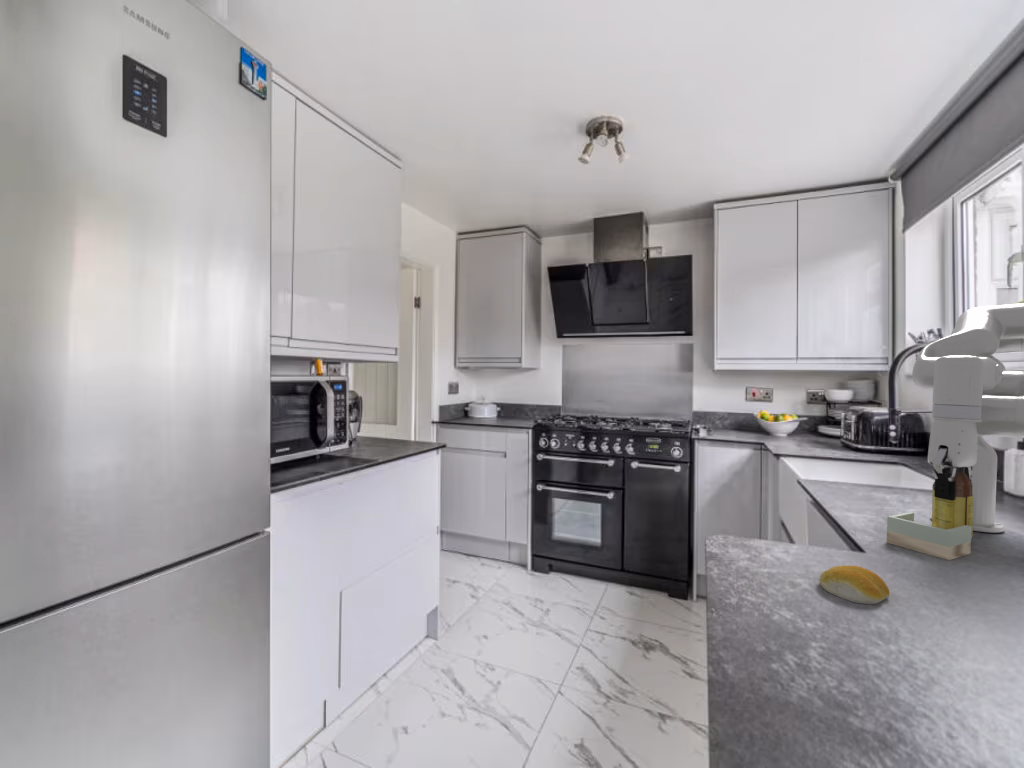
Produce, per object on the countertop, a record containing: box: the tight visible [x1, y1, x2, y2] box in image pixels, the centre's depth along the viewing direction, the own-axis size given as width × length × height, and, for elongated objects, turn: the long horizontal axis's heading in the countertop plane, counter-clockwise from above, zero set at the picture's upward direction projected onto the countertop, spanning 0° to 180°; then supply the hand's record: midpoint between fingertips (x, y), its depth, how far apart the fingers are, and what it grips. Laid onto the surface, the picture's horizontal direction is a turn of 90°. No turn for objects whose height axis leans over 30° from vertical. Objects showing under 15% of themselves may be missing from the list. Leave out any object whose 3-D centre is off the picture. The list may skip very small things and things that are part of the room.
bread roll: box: [819, 565, 890, 605], centre depth 71 cm, size 8×9×4 cm
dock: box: [886, 511, 972, 561], centre depth 91 cm, size 9×10×6 cm
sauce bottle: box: [931, 463, 974, 544], centre depth 96 cm, size 6×6×20 cm
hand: (952, 496), depth 96 cm, fingers closed on sauce bottle, 6 cm apart
